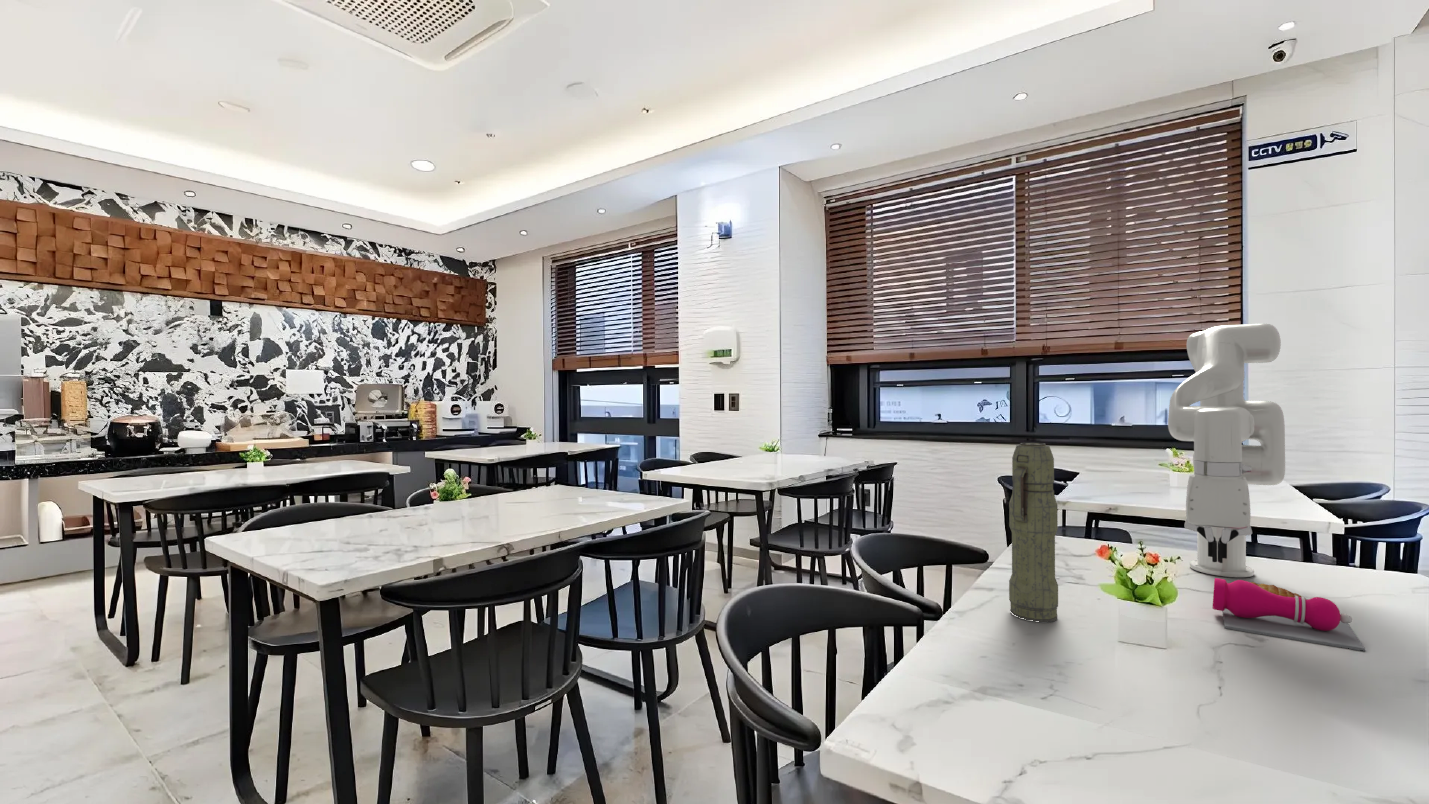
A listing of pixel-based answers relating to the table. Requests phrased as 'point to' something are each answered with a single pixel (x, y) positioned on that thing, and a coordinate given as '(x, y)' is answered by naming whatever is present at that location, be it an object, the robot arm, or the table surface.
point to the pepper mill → (1275, 605)
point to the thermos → (1033, 534)
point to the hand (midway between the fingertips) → (1217, 561)
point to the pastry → (1277, 590)
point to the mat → (1294, 630)
